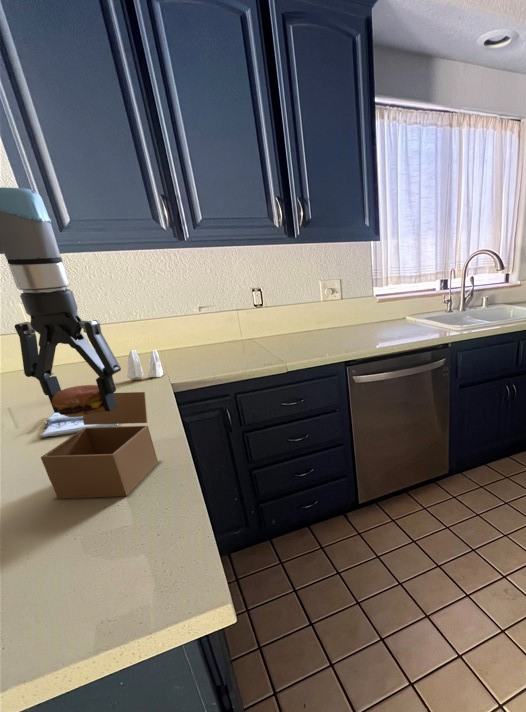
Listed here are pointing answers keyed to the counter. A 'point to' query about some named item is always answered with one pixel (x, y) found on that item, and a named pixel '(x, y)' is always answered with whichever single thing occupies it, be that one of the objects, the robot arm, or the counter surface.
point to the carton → (101, 462)
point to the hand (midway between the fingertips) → (86, 409)
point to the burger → (79, 401)
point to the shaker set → (135, 366)
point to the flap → (122, 410)
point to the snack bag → (67, 425)
